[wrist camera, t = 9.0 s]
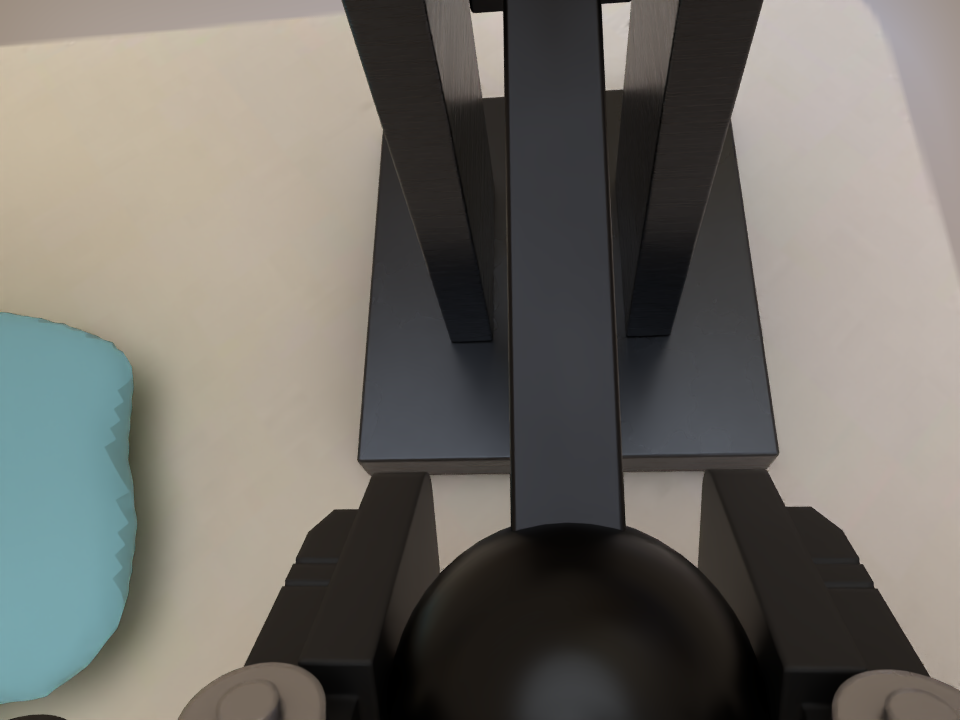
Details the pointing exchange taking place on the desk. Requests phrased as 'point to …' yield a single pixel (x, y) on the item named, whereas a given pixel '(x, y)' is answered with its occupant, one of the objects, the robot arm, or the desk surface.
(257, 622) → the desk surface
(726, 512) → the robot arm
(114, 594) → the penguin figurine
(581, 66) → the lever
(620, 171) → the switch bracket
